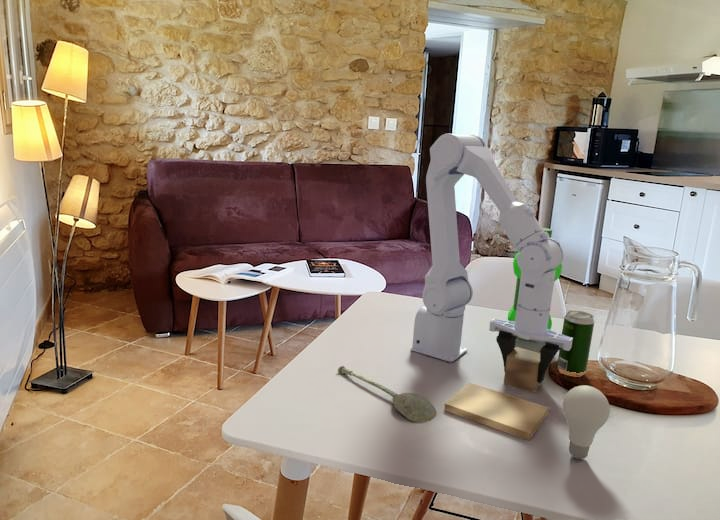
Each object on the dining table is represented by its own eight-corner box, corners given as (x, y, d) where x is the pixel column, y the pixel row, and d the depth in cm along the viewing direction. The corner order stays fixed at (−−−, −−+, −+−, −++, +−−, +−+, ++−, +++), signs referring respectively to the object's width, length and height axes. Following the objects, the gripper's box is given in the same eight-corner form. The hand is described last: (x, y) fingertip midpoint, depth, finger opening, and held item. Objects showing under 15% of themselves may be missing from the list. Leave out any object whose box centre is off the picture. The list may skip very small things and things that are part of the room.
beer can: (574, 380, 103) (583, 321, 100) (550, 369, 108) (559, 312, 105) (591, 375, 106) (601, 317, 103) (567, 364, 110) (576, 308, 108)
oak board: (444, 410, 89) (445, 403, 89) (468, 388, 97) (469, 382, 97) (528, 440, 82) (529, 433, 82) (547, 414, 90) (548, 407, 90)
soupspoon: (416, 434, 84) (443, 423, 88) (419, 414, 83) (446, 404, 88) (327, 377, 99) (354, 370, 104) (329, 360, 99) (356, 353, 103)
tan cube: (503, 383, 100) (507, 355, 99) (513, 373, 105) (516, 347, 103) (533, 392, 97) (537, 364, 96) (542, 382, 102) (546, 354, 101)
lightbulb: (598, 451, 80) (610, 383, 77) (601, 475, 74) (615, 402, 72) (554, 441, 82) (565, 374, 79) (554, 464, 76) (566, 392, 74)
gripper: (486, 302, 98) (478, 371, 101) (569, 321, 90) (558, 395, 94) (500, 293, 104) (492, 359, 107) (579, 311, 96) (568, 381, 99)
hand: (523, 375), depth 101 cm, fingers closed on tan cube, 5 cm apart
